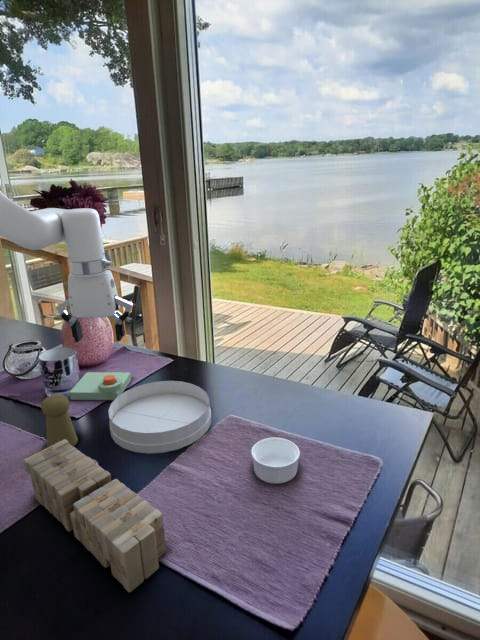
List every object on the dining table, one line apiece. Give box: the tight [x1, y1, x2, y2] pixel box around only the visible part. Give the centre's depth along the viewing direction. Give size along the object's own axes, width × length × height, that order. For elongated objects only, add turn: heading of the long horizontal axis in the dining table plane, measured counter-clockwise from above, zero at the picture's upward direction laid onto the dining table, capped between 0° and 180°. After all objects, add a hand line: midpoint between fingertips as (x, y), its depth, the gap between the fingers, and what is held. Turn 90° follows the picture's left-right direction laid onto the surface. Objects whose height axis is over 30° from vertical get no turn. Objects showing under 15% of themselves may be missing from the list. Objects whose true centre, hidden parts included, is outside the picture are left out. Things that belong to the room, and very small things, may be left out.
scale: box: [69, 371, 132, 401], centre depth 112 cm, size 12×11×4 cm
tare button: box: [103, 375, 116, 385], centre depth 109 cm, size 3×3×2 cm
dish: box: [108, 380, 212, 454], centre depth 97 cm, size 22×22×5 cm
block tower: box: [23, 439, 167, 593], centre depth 70 cm, size 8×8×29 cm
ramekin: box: [250, 437, 301, 485], centre depth 81 cm, size 9×9×4 cm
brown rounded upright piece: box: [40, 393, 79, 448], centre depth 90 cm, size 6×6×11 cm
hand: (99, 339), depth 102 cm, fingers open, 9 cm apart
